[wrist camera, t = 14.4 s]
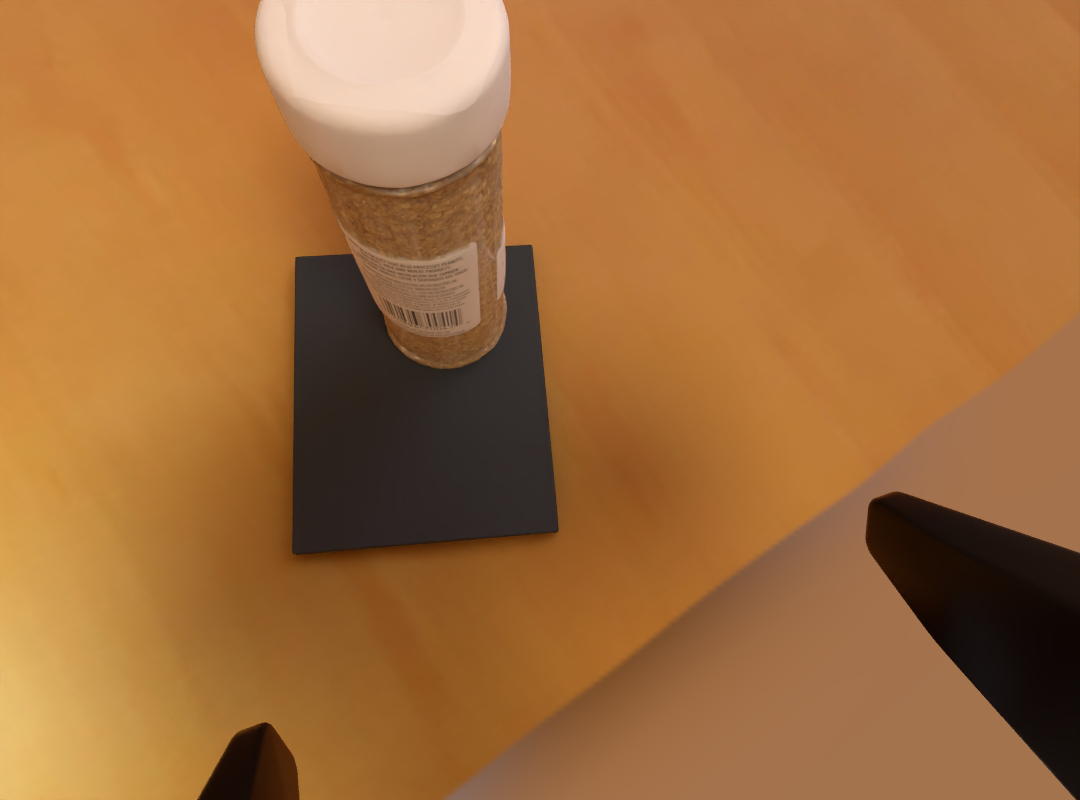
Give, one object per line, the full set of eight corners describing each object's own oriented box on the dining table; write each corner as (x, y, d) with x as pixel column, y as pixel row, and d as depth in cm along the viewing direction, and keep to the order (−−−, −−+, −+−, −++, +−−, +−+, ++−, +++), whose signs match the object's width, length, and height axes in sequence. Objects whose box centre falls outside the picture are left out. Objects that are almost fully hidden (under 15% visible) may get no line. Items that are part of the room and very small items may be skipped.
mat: (557, 532, 23) (558, 531, 22) (296, 554, 22) (291, 554, 22) (531, 250, 26) (532, 244, 25) (299, 262, 25) (294, 256, 25)
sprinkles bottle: (527, 291, 25) (555, -25, 12) (471, 394, 24) (433, 167, 11) (420, 240, 25) (334, -123, 12) (359, 339, 24) (192, 54, 11)
